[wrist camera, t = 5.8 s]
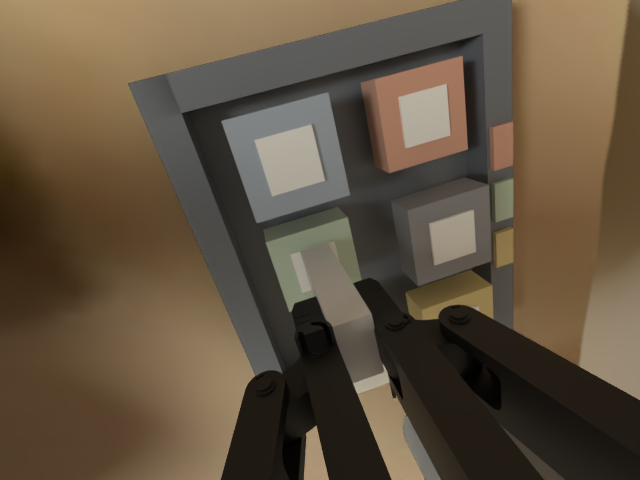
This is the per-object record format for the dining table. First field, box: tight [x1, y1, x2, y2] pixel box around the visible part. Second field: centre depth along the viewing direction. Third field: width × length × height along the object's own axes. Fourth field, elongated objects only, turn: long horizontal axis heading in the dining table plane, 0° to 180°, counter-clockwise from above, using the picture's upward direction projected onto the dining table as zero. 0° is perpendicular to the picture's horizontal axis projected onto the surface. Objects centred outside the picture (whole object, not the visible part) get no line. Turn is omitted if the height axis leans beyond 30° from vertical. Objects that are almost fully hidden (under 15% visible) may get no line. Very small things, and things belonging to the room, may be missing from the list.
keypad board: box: [128, 0, 514, 376], centre depth 20 cm, size 18×21×3 cm
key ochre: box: [406, 270, 493, 320], centre depth 20 cm, size 4×4×2 cm
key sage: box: [264, 207, 362, 312], centre depth 19 cm, size 4×4×2 cm
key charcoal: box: [391, 178, 492, 286], centre depth 18 cm, size 4×4×2 cm
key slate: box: [221, 93, 350, 223], centre depth 15 cm, size 4×4×2 cm
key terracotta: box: [361, 56, 468, 173], centre depth 17 cm, size 4×4×2 cm
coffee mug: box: [403, 415, 565, 480], centre depth 25 cm, size 13×10×10 cm
